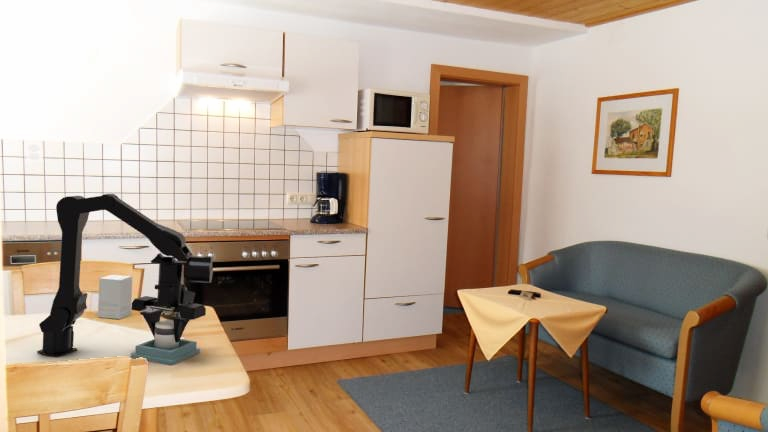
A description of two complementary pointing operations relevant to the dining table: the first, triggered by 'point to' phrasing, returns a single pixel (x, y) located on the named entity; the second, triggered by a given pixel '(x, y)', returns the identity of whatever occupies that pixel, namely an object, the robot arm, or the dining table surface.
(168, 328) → the lens
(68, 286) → the robot arm
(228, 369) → the dining table surface
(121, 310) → the supplement box
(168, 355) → the square tray
